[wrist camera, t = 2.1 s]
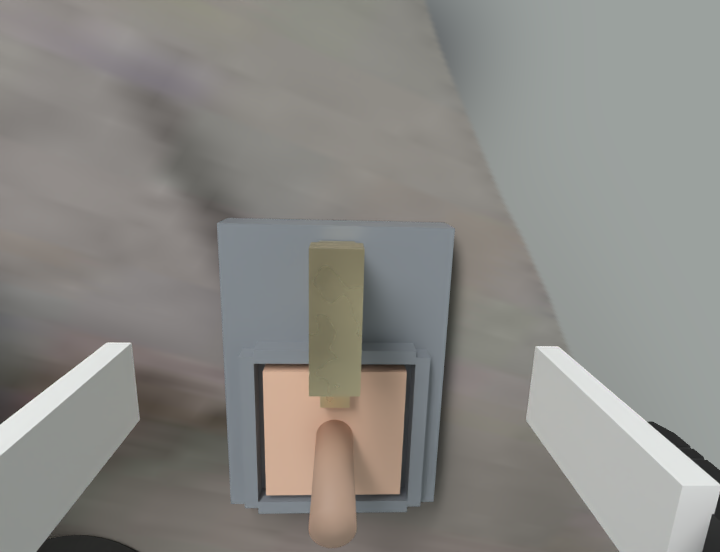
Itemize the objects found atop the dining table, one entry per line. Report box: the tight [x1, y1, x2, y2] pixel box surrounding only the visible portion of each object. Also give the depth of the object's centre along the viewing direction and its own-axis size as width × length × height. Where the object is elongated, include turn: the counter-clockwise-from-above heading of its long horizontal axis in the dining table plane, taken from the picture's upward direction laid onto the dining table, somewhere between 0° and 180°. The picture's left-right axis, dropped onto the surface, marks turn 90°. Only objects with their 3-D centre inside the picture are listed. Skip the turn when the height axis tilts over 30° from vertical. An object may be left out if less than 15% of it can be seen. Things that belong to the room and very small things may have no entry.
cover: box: [263, 364, 407, 548], centre depth 29 cm, size 10×10×10 cm
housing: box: [217, 218, 455, 514], centre depth 34 cm, size 22×16×4 cm
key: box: [309, 241, 365, 408], centre depth 26 cm, size 12×2×11 cm, turn 178°
